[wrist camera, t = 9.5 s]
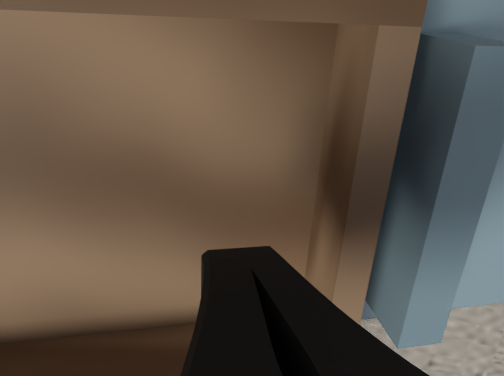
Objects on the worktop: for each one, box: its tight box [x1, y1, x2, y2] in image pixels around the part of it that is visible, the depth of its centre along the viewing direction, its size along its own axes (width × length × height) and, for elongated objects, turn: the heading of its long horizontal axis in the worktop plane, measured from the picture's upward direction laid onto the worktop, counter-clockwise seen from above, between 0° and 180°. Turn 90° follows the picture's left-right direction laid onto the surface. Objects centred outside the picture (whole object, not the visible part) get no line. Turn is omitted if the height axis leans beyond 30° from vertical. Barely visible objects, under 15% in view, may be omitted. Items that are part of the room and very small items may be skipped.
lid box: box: [0, 0, 427, 376], centre depth 10 cm, size 13×15×5 cm
